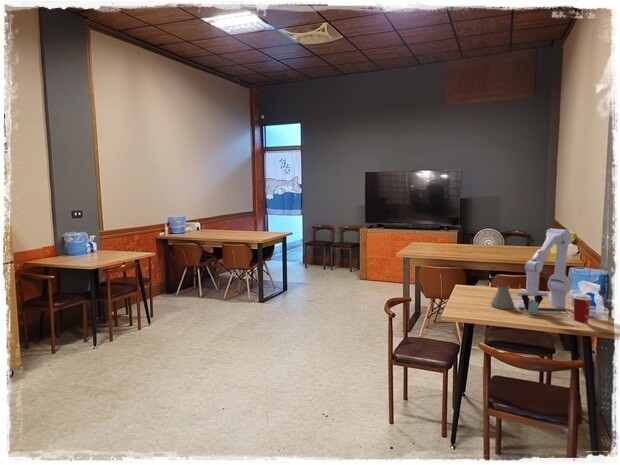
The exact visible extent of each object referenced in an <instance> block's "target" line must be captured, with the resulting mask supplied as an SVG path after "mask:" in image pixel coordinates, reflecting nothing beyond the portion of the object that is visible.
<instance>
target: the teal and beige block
mask: <svg viewBox="0 0 620 465" xmlns="http://www.w3.org/2000/svg"><path fill="white" fill-rule="evenodd" d="M528 298H529V302H528V310H526V309H525V308H524V310H525V311H526V312H527V313H529V314H538V308H539V306H538V302H536V301H535V299H533V298H531V297H528Z"/></svg>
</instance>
